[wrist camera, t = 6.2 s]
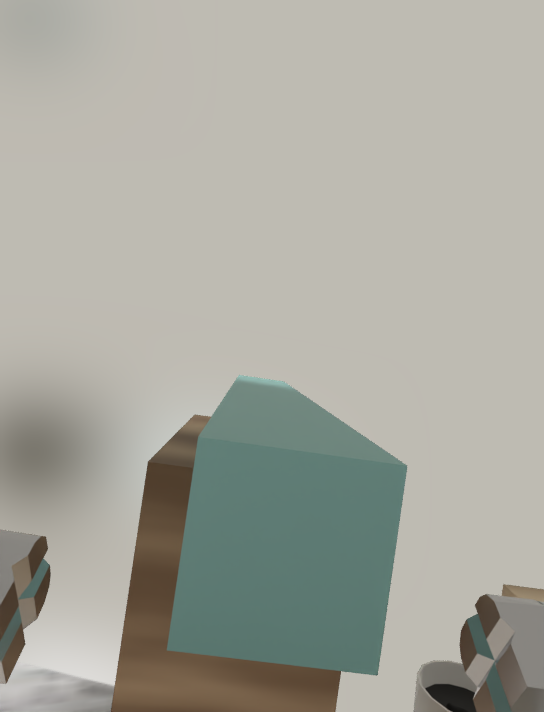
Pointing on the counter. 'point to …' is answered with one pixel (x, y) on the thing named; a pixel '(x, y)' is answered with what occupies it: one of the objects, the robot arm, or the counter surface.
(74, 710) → the counter surface
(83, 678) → the counter surface
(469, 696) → the white coffee cup
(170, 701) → the post
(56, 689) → the counter surface
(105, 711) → the counter surface
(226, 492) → the rail
